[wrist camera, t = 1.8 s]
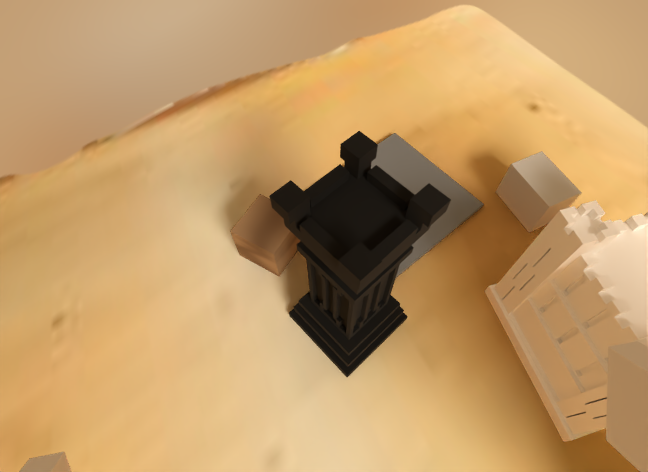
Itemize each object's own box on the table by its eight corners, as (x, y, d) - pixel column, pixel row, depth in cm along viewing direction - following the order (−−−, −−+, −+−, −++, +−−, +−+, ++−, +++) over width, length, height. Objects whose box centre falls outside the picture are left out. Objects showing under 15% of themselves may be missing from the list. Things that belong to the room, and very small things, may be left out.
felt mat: (306, 195, 48) (306, 192, 48) (394, 136, 53) (394, 132, 52) (392, 280, 43) (392, 278, 42) (482, 207, 47) (483, 204, 47)
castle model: (607, 255, 44) (722, 160, 31) (705, 391, 37) (906, 343, 24) (484, 291, 42) (552, 207, 29) (563, 441, 35) (697, 419, 22)
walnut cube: (240, 255, 45) (230, 231, 40) (266, 220, 47) (260, 194, 42) (279, 276, 43) (273, 254, 39) (305, 240, 45) (302, 215, 41)
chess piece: (289, 315, 41) (259, 195, 24) (348, 265, 44) (359, 124, 26) (347, 377, 38) (360, 291, 21) (406, 319, 41) (461, 199, 23)
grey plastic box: (495, 192, 48) (511, 163, 44) (523, 180, 49) (541, 151, 45) (528, 232, 45) (549, 206, 41) (558, 219, 46) (581, 192, 42)
